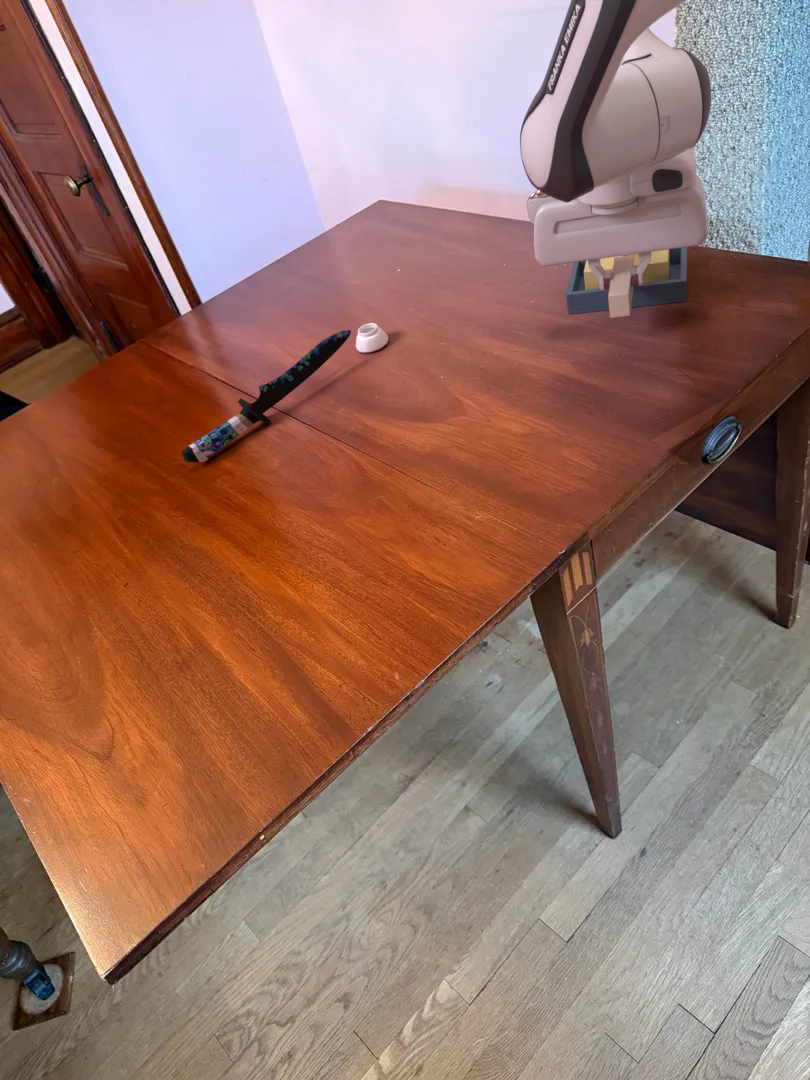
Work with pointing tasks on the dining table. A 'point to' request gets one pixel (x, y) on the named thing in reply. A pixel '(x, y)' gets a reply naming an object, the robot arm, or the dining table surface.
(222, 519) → the dining table surface
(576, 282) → the butter dish
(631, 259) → the butter knife
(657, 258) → the butter
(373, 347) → the lidless jar
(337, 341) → the knife
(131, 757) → the dining table surface
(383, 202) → the dining table surface
